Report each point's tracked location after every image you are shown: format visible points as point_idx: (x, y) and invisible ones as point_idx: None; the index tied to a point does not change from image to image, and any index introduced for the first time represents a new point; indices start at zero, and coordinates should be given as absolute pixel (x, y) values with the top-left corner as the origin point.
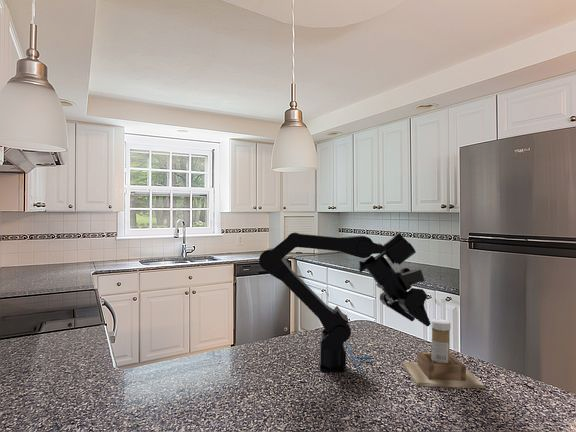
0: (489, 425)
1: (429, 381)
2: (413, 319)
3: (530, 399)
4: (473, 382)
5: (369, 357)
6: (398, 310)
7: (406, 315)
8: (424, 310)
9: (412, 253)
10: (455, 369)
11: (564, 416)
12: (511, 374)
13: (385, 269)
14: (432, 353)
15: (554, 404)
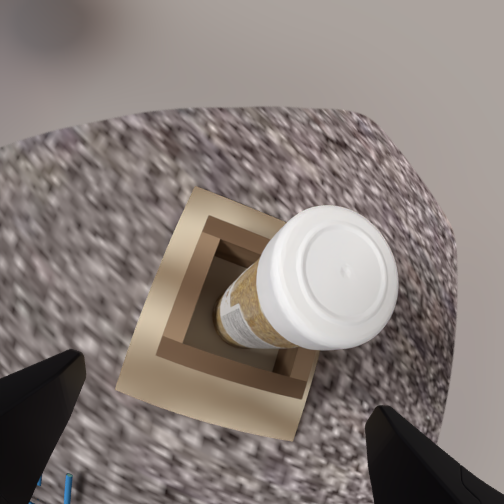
0: (448, 366)
1: (295, 399)
2: (82, 366)
3: (388, 198)
4: None
5: (69, 483)
6: (22, 500)
7: (54, 430)
8: (476, 486)
9: None
10: None
11: (434, 206)
12: (277, 116)
13: None
14: (257, 347)
15: (403, 177)
